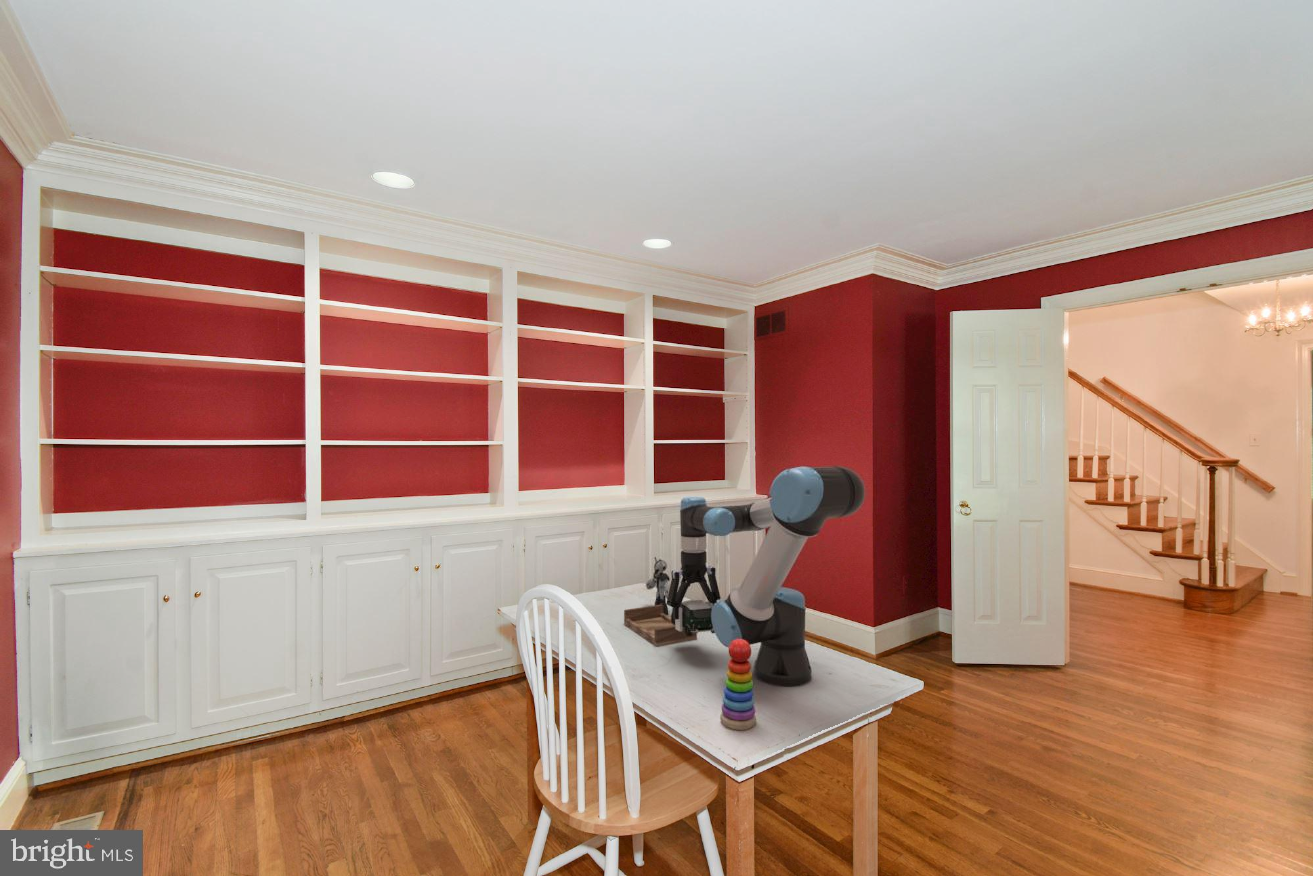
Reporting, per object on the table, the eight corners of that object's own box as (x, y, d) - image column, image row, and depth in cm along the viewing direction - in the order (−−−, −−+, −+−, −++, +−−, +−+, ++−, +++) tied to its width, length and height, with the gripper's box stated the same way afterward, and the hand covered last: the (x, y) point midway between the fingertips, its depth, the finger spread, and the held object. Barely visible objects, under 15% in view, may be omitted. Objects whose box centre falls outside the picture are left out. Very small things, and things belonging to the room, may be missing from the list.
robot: (678, 619, 206) (679, 562, 206) (666, 621, 204) (666, 563, 204) (654, 605, 223) (654, 552, 223) (642, 606, 221) (642, 553, 221)
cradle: (696, 639, 186) (696, 623, 186) (656, 646, 179) (656, 630, 179) (661, 618, 207) (661, 604, 207) (624, 624, 200) (624, 609, 200)
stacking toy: (716, 727, 130) (716, 642, 130) (725, 711, 137) (725, 631, 137) (751, 734, 127) (752, 647, 127) (759, 717, 134) (759, 635, 134)
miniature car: (696, 618, 182) (696, 592, 182) (720, 636, 165) (720, 607, 165) (669, 621, 179) (669, 594, 179) (690, 639, 162) (690, 610, 162)
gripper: (718, 545, 181) (718, 618, 180) (653, 551, 170) (654, 629, 170) (732, 548, 174) (733, 625, 174) (666, 556, 164) (666, 637, 163)
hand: (694, 627), depth 172 cm, fingers closed on miniature car, 10 cm apart
